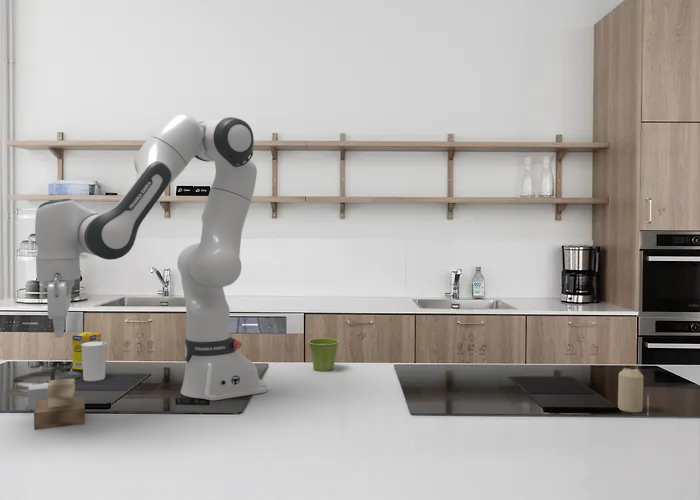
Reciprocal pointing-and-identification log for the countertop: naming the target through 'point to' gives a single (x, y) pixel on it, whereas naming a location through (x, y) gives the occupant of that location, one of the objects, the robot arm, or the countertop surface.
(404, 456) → the countertop surface
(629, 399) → the beige jar
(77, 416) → the walnut block
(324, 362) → the plant pot
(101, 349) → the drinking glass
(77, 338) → the supplement box
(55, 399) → the ash block
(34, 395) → the grey block
